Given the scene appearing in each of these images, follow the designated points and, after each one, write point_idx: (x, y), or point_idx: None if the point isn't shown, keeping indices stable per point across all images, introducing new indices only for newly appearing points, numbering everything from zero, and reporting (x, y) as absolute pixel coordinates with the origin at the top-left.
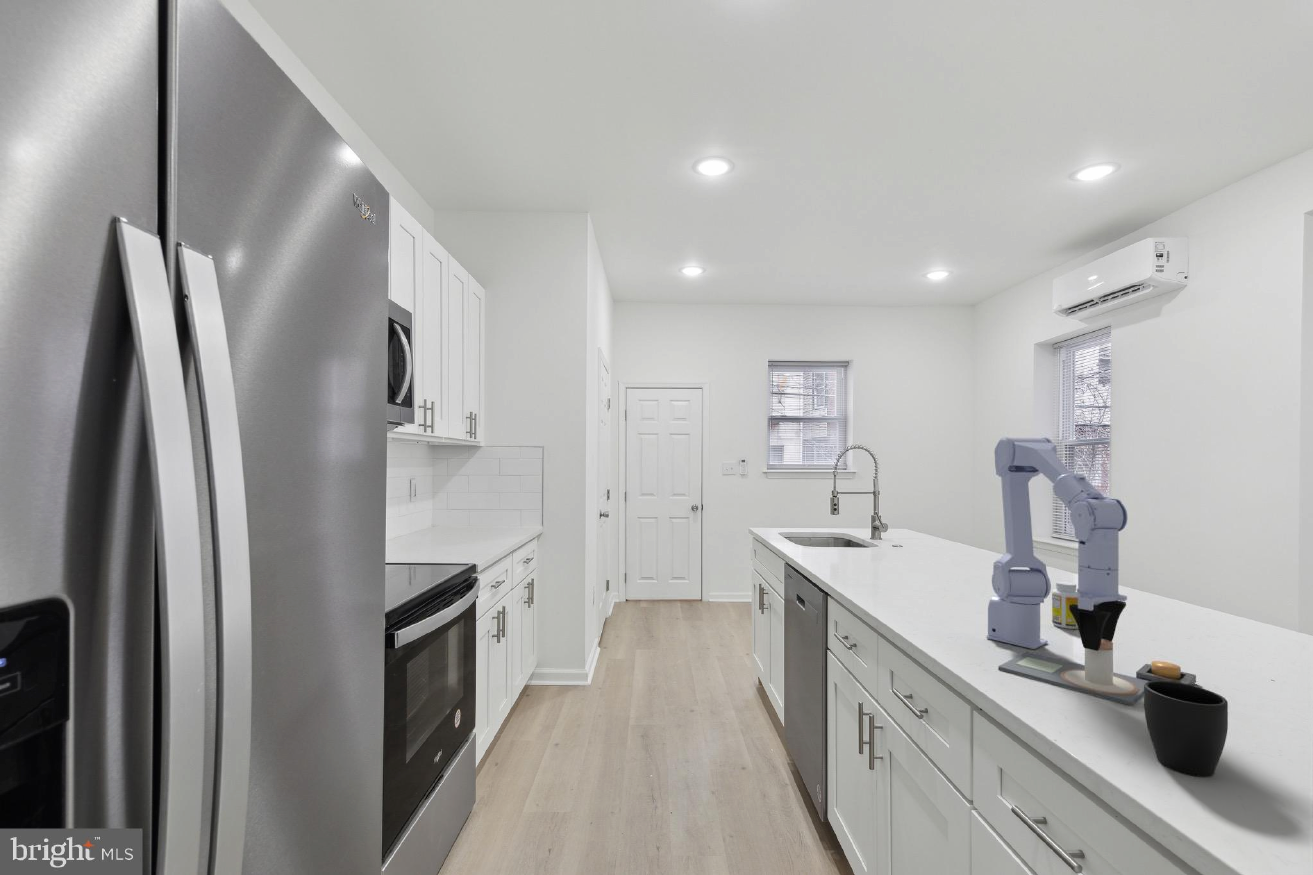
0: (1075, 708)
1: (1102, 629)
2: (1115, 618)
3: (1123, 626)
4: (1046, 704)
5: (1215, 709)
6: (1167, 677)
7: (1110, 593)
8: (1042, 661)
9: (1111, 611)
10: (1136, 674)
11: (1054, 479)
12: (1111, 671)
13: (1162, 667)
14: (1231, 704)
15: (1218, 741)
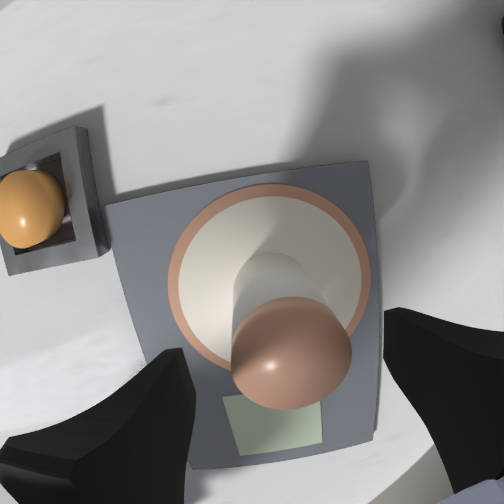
0: (480, 233)
1: (468, 334)
2: (135, 418)
3: None
4: (497, 275)
5: None
6: (59, 187)
7: None
8: (239, 431)
9: (137, 470)
10: (102, 254)
11: None
12: (281, 265)
13: (47, 202)
14: (86, 44)
15: None
